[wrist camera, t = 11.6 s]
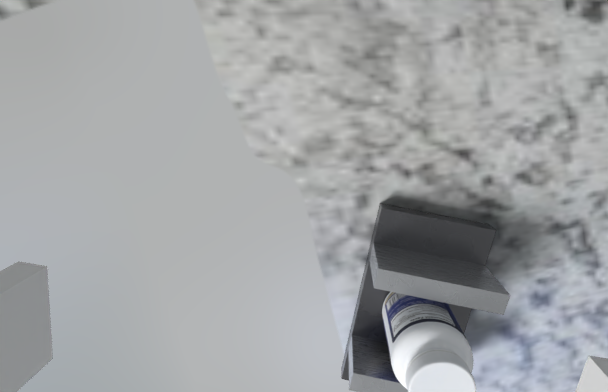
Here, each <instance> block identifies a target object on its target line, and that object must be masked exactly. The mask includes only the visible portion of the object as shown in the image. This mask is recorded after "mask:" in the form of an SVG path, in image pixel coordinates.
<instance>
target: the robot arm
mask: <svg viewBox="0 0 608 392" xmlns="http://www.w3.org/2000/svg"><path fill="white" fill-rule="evenodd" d="M47 275H48V274H47V266H42V265H36V264H30V263H24V262H17V263H15V264H13V265H11V266H9V267H8V268H6V269H4V270H2V271H0V392H17V391H18V390H19V389H20V388H21V387H22V386H23V385H25V384H26V382H28V381H29V380H30V379H31V378H32V377H33V376H34V375H36V374H37V373H38V372H39V371H40V370H41V369H42V368H43V367H44V366H45V365H46V364H48V362H50V361H51V360H52V359H53V353H52V337H51V321H50V305H49V290H48V276H47ZM575 392H608V359H606V358H600V357H594V356H588V358H587V361H586V364H585V367H584V369H583V372H582V375H581V378H580V380H579V383H578V386H577V389H576V391H575Z"/></svg>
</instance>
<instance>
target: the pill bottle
mask: <svg viewBox="0 0 608 392" xmlns="http://www.w3.org/2000/svg"><path fill="white" fill-rule="evenodd" d="M382 317H383V323H384V329H385V334H386V339H387V344H388V350H389V355H390V361H391V365H392V368H393V371H394V374H395V376H396V378H397V379H398V381H399V382H400V383H401V384H402V385H403V386H404V387H405V388H406V389H407V390H408V392H476V384H475V381H474V378H473V376H472V374H471V373H472V369H473V354H472V350H471V348H470V345H469V343H468V341H467V339H466V337H465V335H464V333H463V331H462V330H461V328H460V326H459V324H458V322H457V320H456V318H455V316H454V314H453V312H452V311H451V309H450V307H449V305H448V303H444V302H439V301H434V300H429V299H424V298H419V297H414V296H410V295H405V294H400V293H395V292H390V293H389V294H388V295H387V297H386V298H385V301H384V303H383V307H382Z"/></svg>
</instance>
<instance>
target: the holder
mask: <svg viewBox="0 0 608 392" xmlns="http://www.w3.org/2000/svg"><path fill="white" fill-rule="evenodd" d="M495 232H496V230H495V229H494V228H493V227H491V226H490V225H488V224H483V223H478V222H473V221H468V220H463V219H457V218H452V217H447V216H442V215H437V214H432V213H427V212H422V211H416V210H411V209H406V208H401V207H396V206H391V205H386V204H381V203H380V205H379V210H378V214H377V218H376V222H375V227H374V231H373V235H372V240H371V244H370V248H369V252H368V257H367V261H366V265H365V270H364V274H363V278H362V283H361V287H360V291H359V295H358V300H357V304H356V308H355V313H354V317H353V321H352V325H351V330H350V334H349V338H348V343H347V347H346V351H345V355H344V360H343V364H342V379H345V380H349V390H352V391H356V392H408V390H407V389H406V388H405V387H404V386H403V385H402V384H401V383H400V382H399V381H398V379H397V378H396V376H395V374H394V371H393V368H392V365H391V361H390V355H389V350H388V344H387V339H386V334H385V329H384V323H383V317H382V307H383V303H384V301H385V298H386V297H387V295H388V294H389V293H390V292H395V293H400V294H405V295H410V296H414V297H419V298H424V299H429V300H434V301H439V302H444V303H448V305H449V307H450V309H451V311H452V312H453V314H454V316H455V318H456V320H457V322H458V324H459V326H460V328H461V330H462V331H463V333H464V331H465V328H466V325H467V322H468V318H469V315H470V312H471V309H472V308H473V309H478V310H482V311H487V312H492V313H497V314H502V315H504V312H505V309H506V306H507V303H508V300H509V297H510V295H509V293H508V292H507V291H506V290H505V289H504V287H503V286H502V285H501V284H500V283H499V282H498V280H497V279H496V278H495V277H494V276H493V274H492V273H491V272H490V271H489V270H488V269H487V267H486V266H485V264H486V261H487V258H488V255H489V252H490V248H491V245H492V242H493V239H494V236H495Z"/></svg>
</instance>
